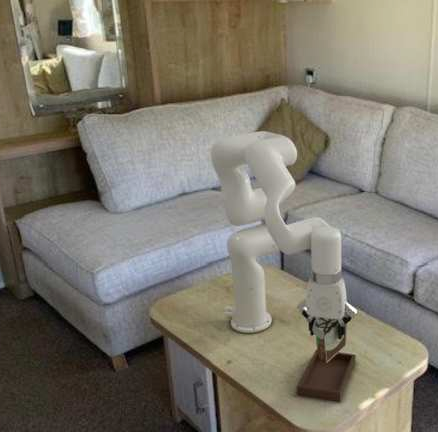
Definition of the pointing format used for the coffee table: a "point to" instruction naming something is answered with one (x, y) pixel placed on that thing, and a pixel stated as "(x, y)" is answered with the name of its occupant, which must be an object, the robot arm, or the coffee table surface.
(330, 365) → the tray
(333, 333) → the lattice half-cylinder
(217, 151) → the robot arm
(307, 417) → the coffee table surface
